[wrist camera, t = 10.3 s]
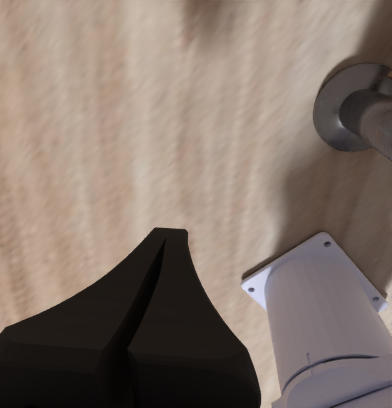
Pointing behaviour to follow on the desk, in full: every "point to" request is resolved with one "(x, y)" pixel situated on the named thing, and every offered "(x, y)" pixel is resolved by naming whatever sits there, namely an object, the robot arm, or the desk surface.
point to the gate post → (356, 109)
